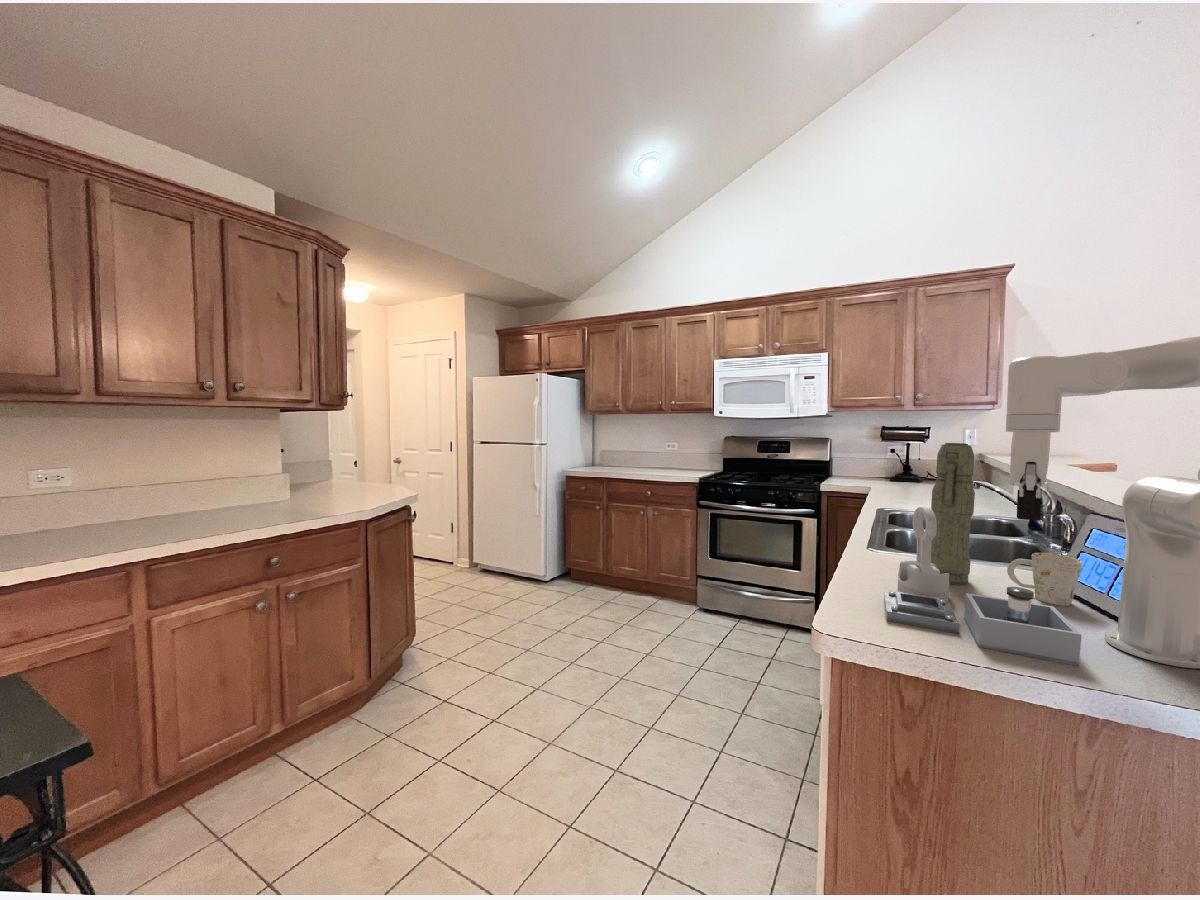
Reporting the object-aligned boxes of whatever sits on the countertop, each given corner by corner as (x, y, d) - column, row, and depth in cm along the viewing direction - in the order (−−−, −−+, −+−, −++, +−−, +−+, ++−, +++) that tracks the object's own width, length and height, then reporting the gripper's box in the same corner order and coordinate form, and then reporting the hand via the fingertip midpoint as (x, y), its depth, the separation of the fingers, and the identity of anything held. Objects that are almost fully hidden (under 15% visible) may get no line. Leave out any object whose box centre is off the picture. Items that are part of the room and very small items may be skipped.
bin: (1050, 633, 93) (1053, 606, 93) (1078, 666, 81) (1081, 634, 81) (964, 619, 100) (965, 593, 99) (978, 646, 88) (980, 617, 87)
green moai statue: (924, 581, 122) (932, 443, 119) (929, 569, 131) (937, 441, 129) (968, 589, 117) (978, 445, 114) (969, 576, 126) (979, 443, 123)
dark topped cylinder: (1001, 628, 94) (1004, 583, 93) (1034, 637, 91) (1038, 590, 90) (998, 636, 90) (1002, 590, 90) (1032, 645, 87) (1036, 597, 86)
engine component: (907, 599, 110) (957, 603, 108) (912, 511, 108) (963, 513, 106) (889, 583, 120) (933, 586, 118) (893, 502, 119) (939, 504, 117)
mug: (1076, 611, 104) (1080, 566, 103) (1001, 594, 114) (1004, 553, 113) (1080, 601, 110) (1083, 558, 109) (1008, 586, 119) (1011, 546, 118)
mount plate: (948, 611, 103) (949, 596, 103) (958, 633, 93) (959, 617, 93) (884, 600, 109) (884, 586, 109) (886, 620, 99) (887, 605, 98)
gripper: (1006, 423, 98) (1003, 505, 99) (1004, 425, 85) (1000, 520, 86) (1057, 423, 93) (1052, 510, 95) (1063, 425, 80) (1058, 526, 82)
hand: (1027, 515), depth 91 cm, fingers open, 9 cm apart
